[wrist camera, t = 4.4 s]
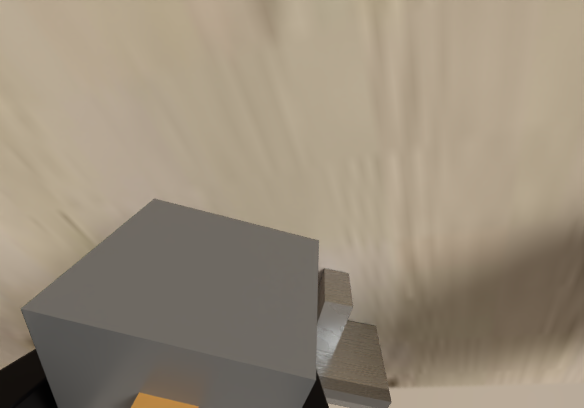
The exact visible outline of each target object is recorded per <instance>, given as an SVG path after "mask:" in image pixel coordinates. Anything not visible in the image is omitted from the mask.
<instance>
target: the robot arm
mask: <svg viewBox="0 0 584 408" xmlns="http://www.w3.org/2000/svg"><path fill="white" fill-rule="evenodd" d="M0 408H58V406H57V404H56V401H55V398H54V396H53V393H52V390H51V388H50V385H49V383H48V380H47V377H46V375H45V372H44V369H43V367H42V364H41V361H40V359H39V356H38V353H37V351H36V349H34V350H33V351H31V352H29V353H28V354H26V355H24V356H23V357H21V358H19V359H18V360H16V361H14V362H13V363H11V364H9V365H8V366H6V367H5V368H3V369H1V370H0ZM302 408H329V406H328V403H327V400H326V397H325V394H324V391H323V388H322V385H321V382H320V378H319V375H318V372H317V369H316V381H315V383H314V385H313V387H312V389H311V391H310V393H309V395H308V397H307V399H306V401H305V403H304V405H303V407H302Z"/></svg>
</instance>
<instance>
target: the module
mask: <svg viewBox="0 0 584 408" xmlns="http://www.w3.org/2000/svg"><path fill="white" fill-rule="evenodd" d="M318 252H319V240H315V239H311V238H307V237H303V236H299V235H295V234H291V233H287V232H283V231H279V230H275V229H272V228H268V227H264V226H260V225H256V224H252V223H248V222H244V221H240V220H236V219H232V218H228V217H224V216H220V215H217V214H213V213H209V212H205V211H201V210H197V209H193V208H189V207H185V206H181V205H177V204H173V203H169V202H165V201H161V200H158V199H153V200H152V201H151V202H150V203H149V204H147V205H146V206H145V207H144V208H142V209H141V210H140V211H139V212H138V213H136V214H135V215H134V216H133V217H132V218H130V219H129V220H128V221H127V222H125V223H124V224H123V225H122V226H121V227H119V228H118V229H117V230H116V231H115V232H113V233H112V234H111V235H110V236H108V237H107V238H106V239H105V240H104V241H102V242H101V243H100V244H99V245H98V246H96V247H95V248H94V249H93V250H91V251H90V252H89V253H88V254H87V255H85V256H84V257H83V258H82V259H81V260H79V261H78V262H77V263H76V264H74V265H73V266H72V267H71V268H70V269H68V270H67V271H66V272H65V273H64V274H62V275H61V276H60V277H59V278H57V279H56V280H55V281H54V282H53V283H51V284H50V285H49V286H48V287H47V288H45V289H44V290H43V291H42V292H40V293H39V294H38V295H37V296H36V297H34V298H33V299H32V300H31V301H30V302H28V303H27V304H26V305H25V306H23V307H22V308H21V311H22V314H23V316H24V319H25V322H26V324H27V327H28V329H29V332H30V335H31V337H32V340H33V343H34V345H35V348H36V351H37V353H38V356H39V359H40V361H41V364H42V367H43V369H44V372H45V375H46V377H47V380H48V383H49V385H50V388H51V390H52V393H53V396H54V398H55V401H56V404H57V406H58V408H302V407H303V405H304V403H305V401H306V399H307V397H308V395H309V393H310V391H311V389H312V387H313V385H314V383H315V381H316V354H317V303H318Z"/></svg>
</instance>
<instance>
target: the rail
mask: <svg viewBox="0 0 584 408" xmlns="http://www.w3.org/2000/svg"><path fill="white" fill-rule="evenodd" d="M352 308H353V302H352V294H351V286H350V279H349V274H348V273H343V272H339V271H334V270H329V269H324V272H323V275H322V278H321V281H320V284H319V288H318V303H317V354H316V369H317V372H318V375H319V378H320V382H321V385H322V388H323V391H324V394H325V397H326V400H327V403H330V404H335V405H339V406H345V407H349V408H388V407H389V405H390V404H391V397H390V393H389V388H388V383H387V378H386V373H385V368H384V363H383V359H382V354H381V349H380V344H379V339H378V334H377V329H376V326H372V325H367V324H362V323H357V322H352V321H347V320H348V318H349V316H350V313H351V311H352Z"/></svg>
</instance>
